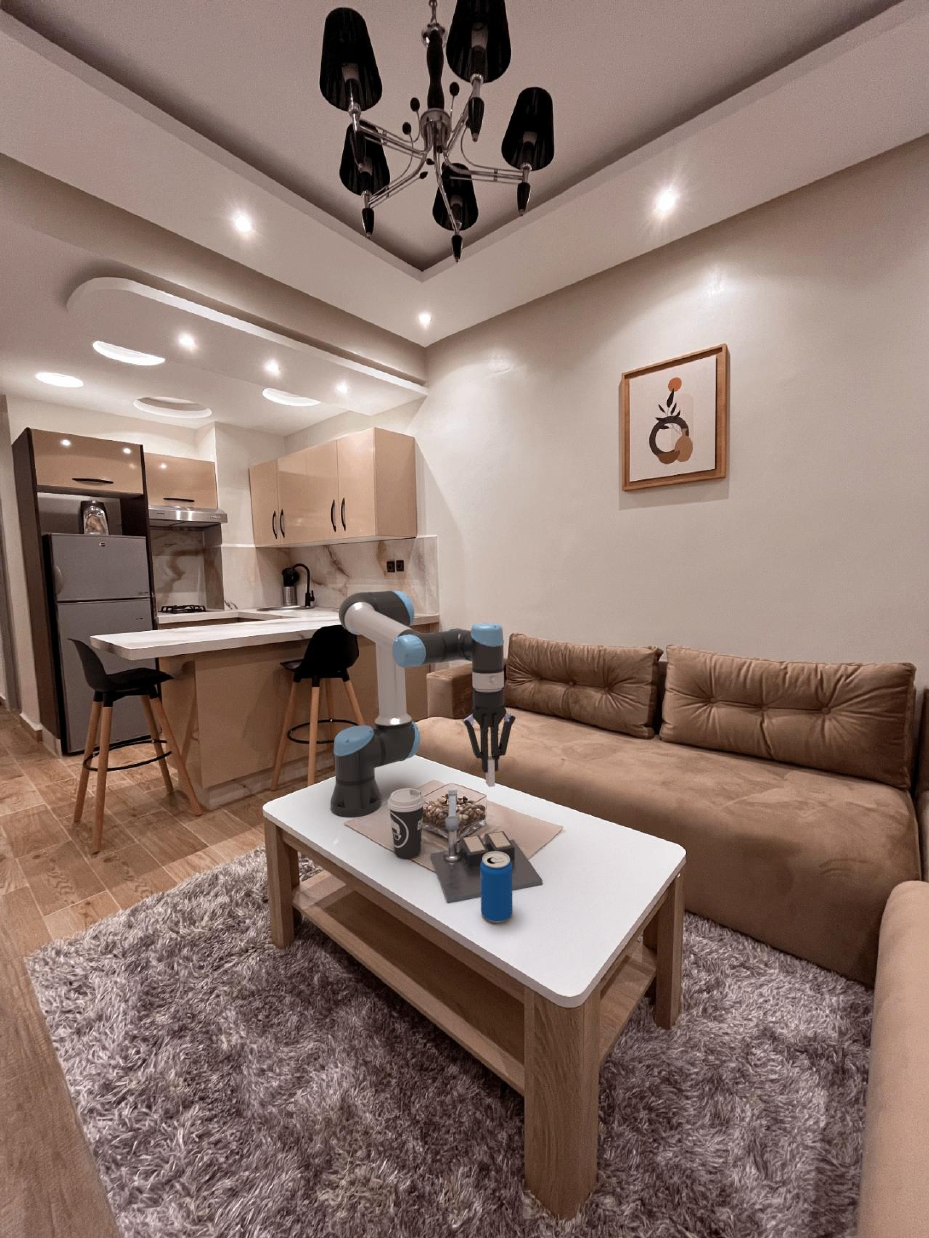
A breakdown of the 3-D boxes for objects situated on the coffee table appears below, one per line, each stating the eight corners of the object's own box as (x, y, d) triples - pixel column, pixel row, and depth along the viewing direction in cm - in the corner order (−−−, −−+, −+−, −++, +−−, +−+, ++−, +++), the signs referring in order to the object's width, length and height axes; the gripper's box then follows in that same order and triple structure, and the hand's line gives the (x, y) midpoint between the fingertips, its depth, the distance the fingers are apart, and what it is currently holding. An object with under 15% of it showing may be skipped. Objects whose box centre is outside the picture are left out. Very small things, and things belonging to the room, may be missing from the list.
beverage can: (479, 905, 106) (478, 851, 105) (509, 902, 106) (509, 849, 105) (483, 926, 99) (482, 869, 98) (515, 924, 100) (514, 867, 99)
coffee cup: (420, 864, 121) (418, 805, 119) (383, 860, 122) (381, 802, 121) (431, 843, 130) (429, 788, 128) (396, 840, 132) (394, 785, 130)
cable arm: (445, 832, 120) (445, 822, 120) (447, 798, 137) (446, 790, 137) (458, 832, 120) (458, 822, 120) (458, 798, 138) (458, 790, 137)
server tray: (430, 857, 124) (429, 825, 123) (513, 843, 129) (513, 812, 129) (447, 903, 106) (446, 866, 106) (542, 884, 112) (542, 849, 111)
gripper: (465, 694, 114) (468, 794, 116) (519, 689, 117) (521, 787, 119) (458, 687, 121) (460, 781, 123) (509, 683, 124) (510, 775, 126)
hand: (490, 784), depth 121 cm, fingers closed
